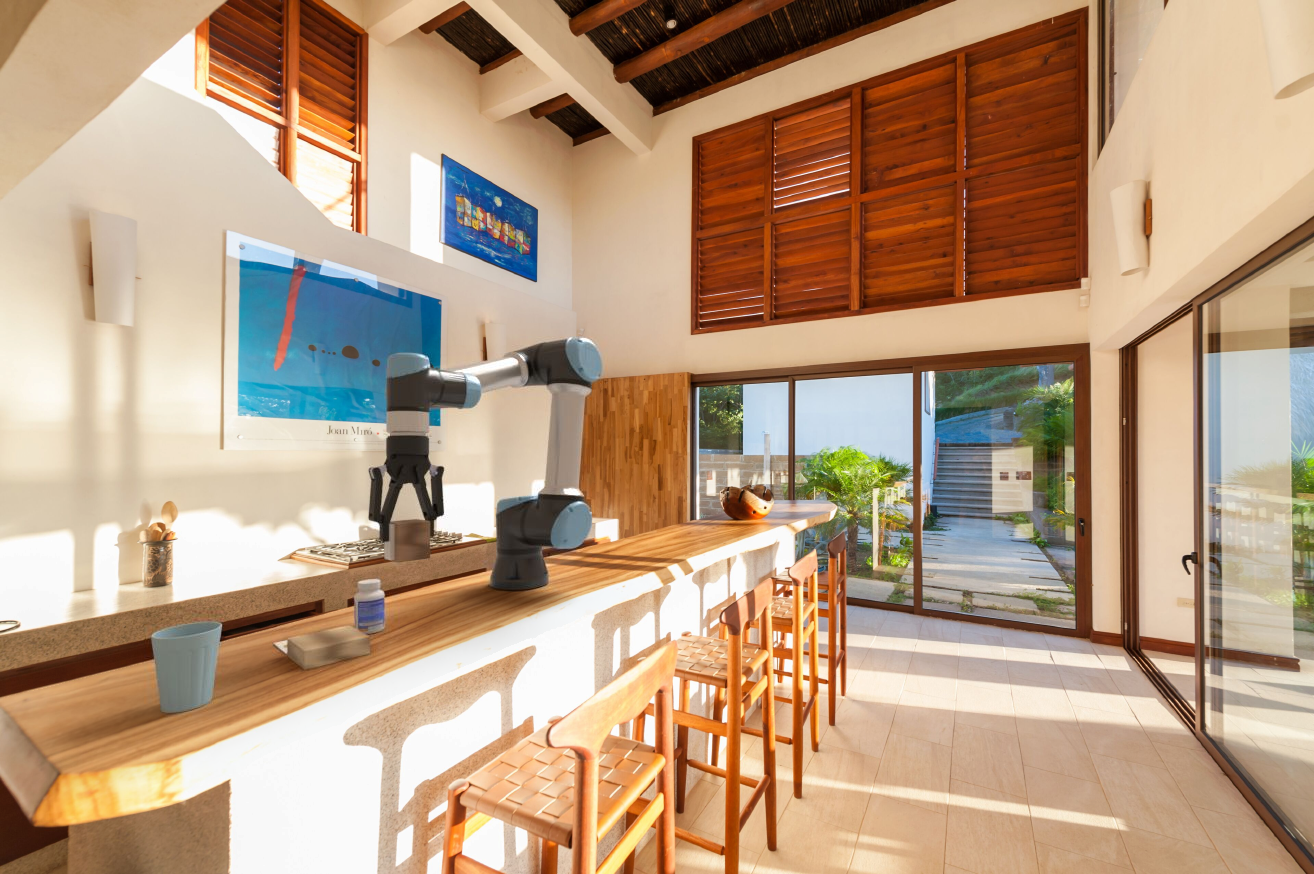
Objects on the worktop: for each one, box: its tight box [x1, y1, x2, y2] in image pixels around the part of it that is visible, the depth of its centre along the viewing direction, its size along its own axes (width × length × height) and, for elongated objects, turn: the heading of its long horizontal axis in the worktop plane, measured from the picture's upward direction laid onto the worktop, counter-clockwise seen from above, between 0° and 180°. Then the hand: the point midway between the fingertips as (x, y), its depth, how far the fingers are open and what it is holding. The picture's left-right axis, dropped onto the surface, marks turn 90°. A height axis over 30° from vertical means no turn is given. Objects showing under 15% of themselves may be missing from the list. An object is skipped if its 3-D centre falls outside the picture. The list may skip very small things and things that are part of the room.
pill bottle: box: [353, 578, 386, 635], centre depth 113 cm, size 5×5×10 cm
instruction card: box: [273, 640, 287, 655], centre depth 106 cm, size 10×8×1 cm
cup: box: [150, 621, 223, 714], centre depth 80 cm, size 8×8×10 cm
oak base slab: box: [286, 624, 371, 671], centre depth 99 cm, size 10×10×3 cm
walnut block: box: [389, 518, 431, 564], centre depth 109 cm, size 6×6×7 cm
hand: (407, 556), depth 109 cm, fingers closed on walnut block, 6 cm apart
